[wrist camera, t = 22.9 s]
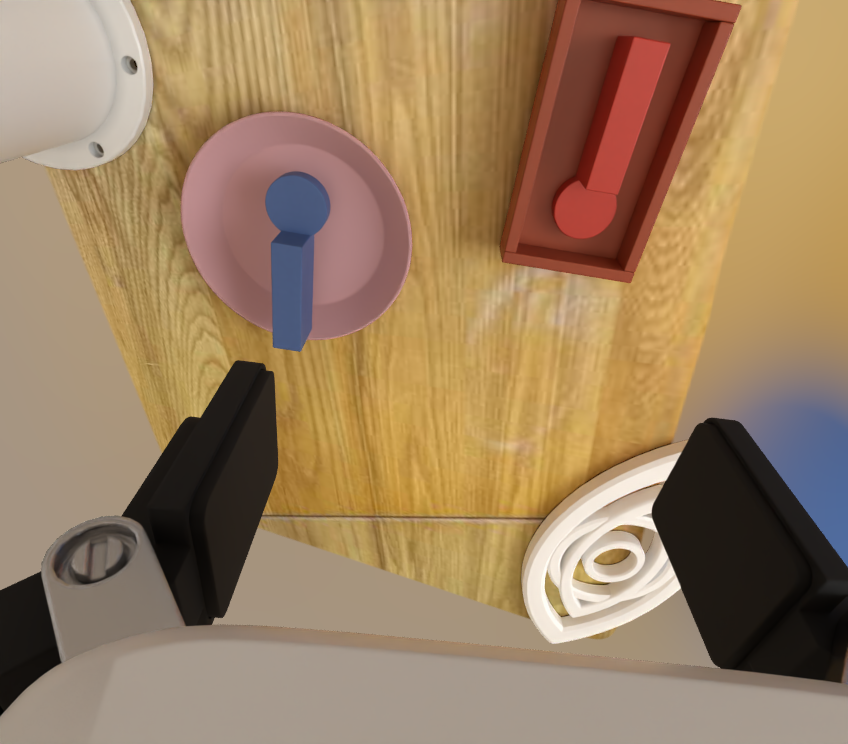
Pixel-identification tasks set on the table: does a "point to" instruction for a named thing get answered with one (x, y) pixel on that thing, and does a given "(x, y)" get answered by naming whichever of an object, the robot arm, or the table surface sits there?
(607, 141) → the red spoon
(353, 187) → the plate
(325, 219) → the blue spoon
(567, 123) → the tray
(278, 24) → the table surface
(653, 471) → the decorative sculpture
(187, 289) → the table surface
